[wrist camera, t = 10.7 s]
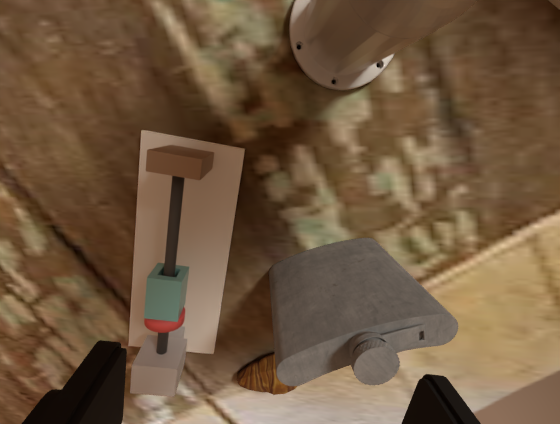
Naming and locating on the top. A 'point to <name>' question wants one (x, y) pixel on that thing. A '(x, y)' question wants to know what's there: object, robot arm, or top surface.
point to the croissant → (262, 377)
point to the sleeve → (166, 293)
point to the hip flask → (350, 313)
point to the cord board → (181, 249)
